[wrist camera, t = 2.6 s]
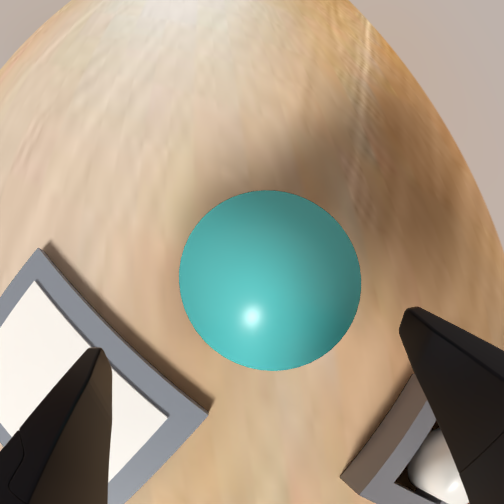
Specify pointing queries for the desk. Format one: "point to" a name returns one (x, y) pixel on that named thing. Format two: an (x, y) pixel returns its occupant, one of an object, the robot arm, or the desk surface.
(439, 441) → the button
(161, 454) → the pad
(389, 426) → the button housing
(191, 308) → the ball
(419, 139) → the desk surface
